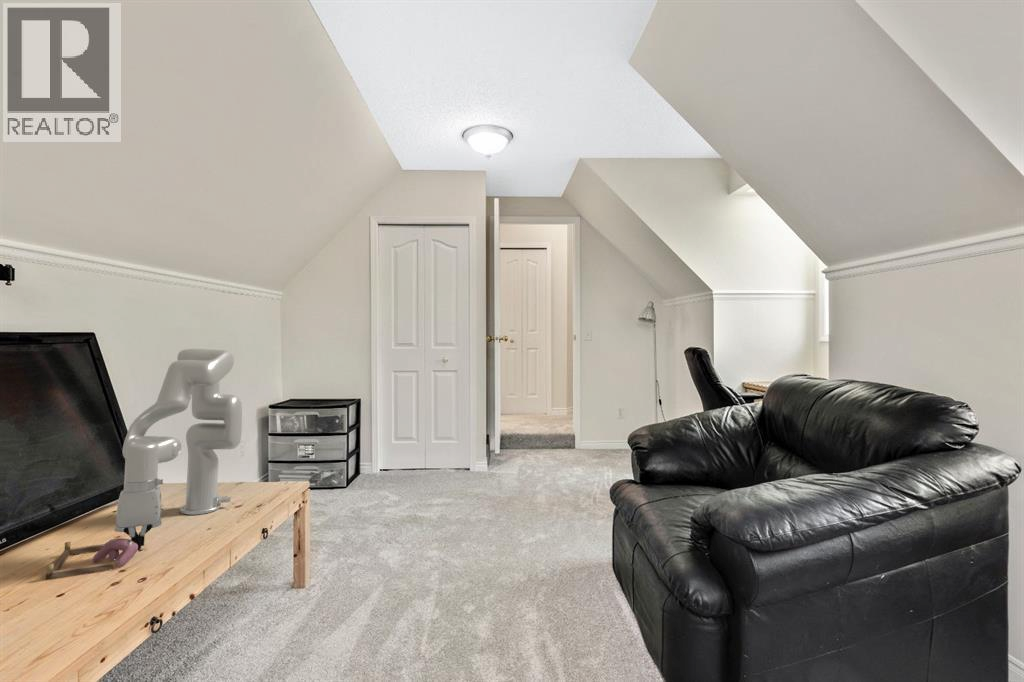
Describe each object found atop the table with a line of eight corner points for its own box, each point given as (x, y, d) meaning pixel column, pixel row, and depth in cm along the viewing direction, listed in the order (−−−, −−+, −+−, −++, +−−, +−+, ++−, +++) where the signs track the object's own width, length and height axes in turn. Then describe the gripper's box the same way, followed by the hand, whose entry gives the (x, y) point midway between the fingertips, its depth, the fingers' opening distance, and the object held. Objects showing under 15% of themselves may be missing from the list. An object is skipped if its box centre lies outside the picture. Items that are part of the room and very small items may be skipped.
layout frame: (123, 546, 142) (124, 534, 142) (112, 569, 128) (113, 556, 128) (64, 554, 135) (65, 542, 135) (45, 579, 121) (46, 566, 121)
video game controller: (132, 568, 132) (144, 541, 135) (118, 567, 128) (130, 539, 131) (103, 563, 134) (116, 537, 137) (88, 562, 130) (101, 535, 133)
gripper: (173, 479, 145) (170, 539, 145) (109, 484, 137) (106, 548, 137) (171, 486, 138) (167, 549, 138) (104, 492, 130) (100, 559, 130)
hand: (137, 548), depth 137 cm, fingers closed
